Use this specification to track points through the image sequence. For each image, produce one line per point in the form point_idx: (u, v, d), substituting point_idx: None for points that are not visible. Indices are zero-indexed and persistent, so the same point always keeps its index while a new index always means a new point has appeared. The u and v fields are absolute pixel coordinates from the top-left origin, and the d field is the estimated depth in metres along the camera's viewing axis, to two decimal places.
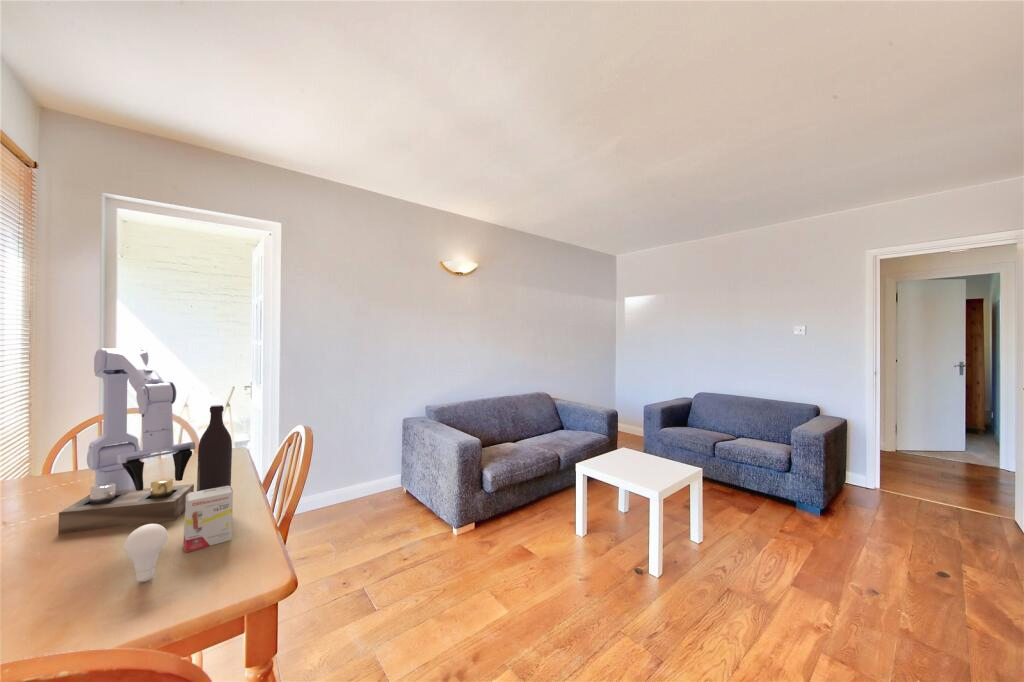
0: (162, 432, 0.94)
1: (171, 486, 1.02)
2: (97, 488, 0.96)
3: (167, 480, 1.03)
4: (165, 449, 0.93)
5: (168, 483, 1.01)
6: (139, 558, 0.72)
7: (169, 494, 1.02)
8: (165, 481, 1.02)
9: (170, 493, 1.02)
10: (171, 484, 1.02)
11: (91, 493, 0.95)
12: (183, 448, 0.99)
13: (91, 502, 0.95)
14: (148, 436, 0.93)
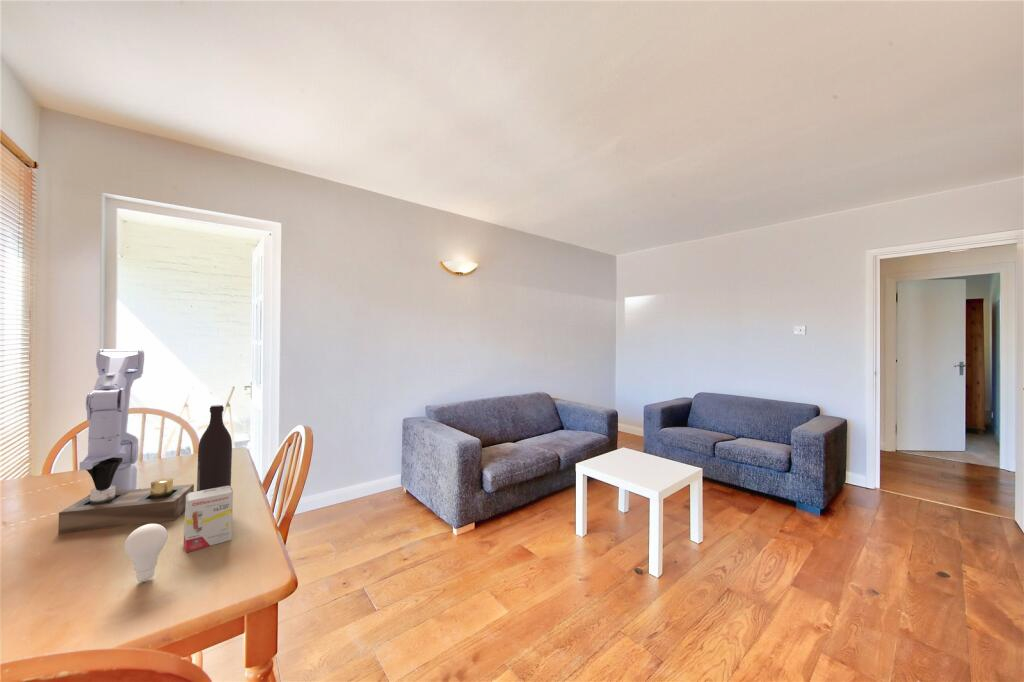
0: (118, 437, 0.98)
1: (171, 486, 1.02)
2: (97, 490, 0.96)
3: (167, 480, 1.03)
4: (124, 453, 0.99)
5: (168, 483, 1.01)
6: (139, 558, 0.72)
7: (169, 494, 1.02)
8: (165, 481, 1.02)
9: (170, 493, 1.02)
10: (171, 484, 1.02)
11: (91, 495, 0.95)
12: None
13: None
14: (106, 442, 0.96)
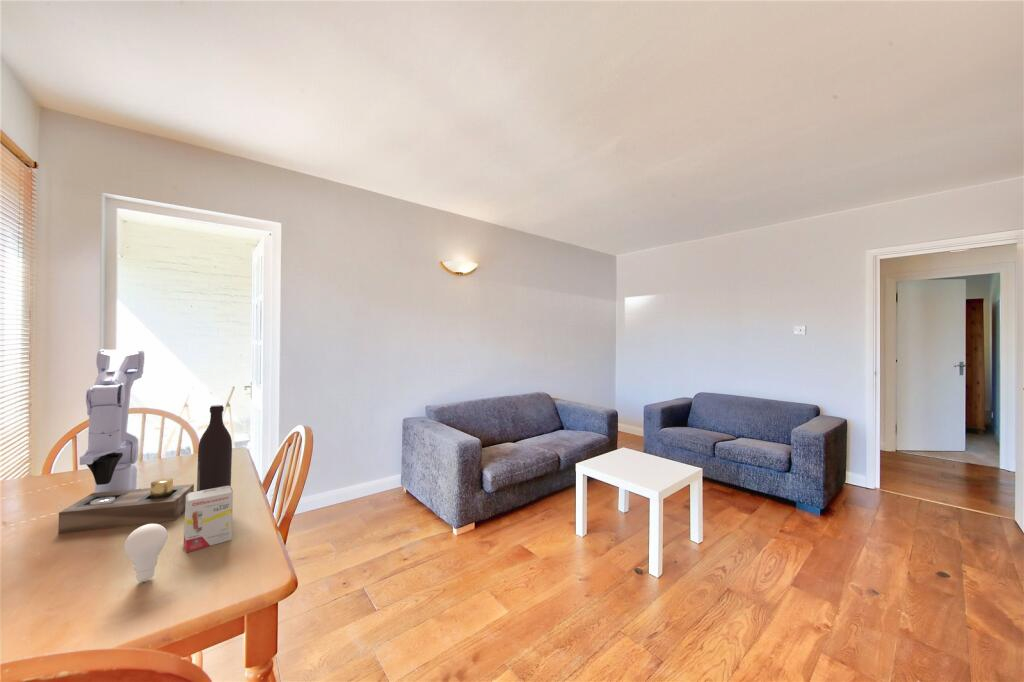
0: (118, 432, 0.98)
1: (171, 486, 1.02)
2: (96, 502, 0.96)
3: (167, 480, 1.03)
4: (124, 448, 0.99)
5: (168, 483, 1.01)
6: (139, 558, 0.72)
7: (169, 494, 1.02)
8: (165, 481, 1.02)
9: (170, 493, 1.02)
10: (171, 484, 1.02)
11: None
12: None
13: None
14: (107, 437, 0.96)
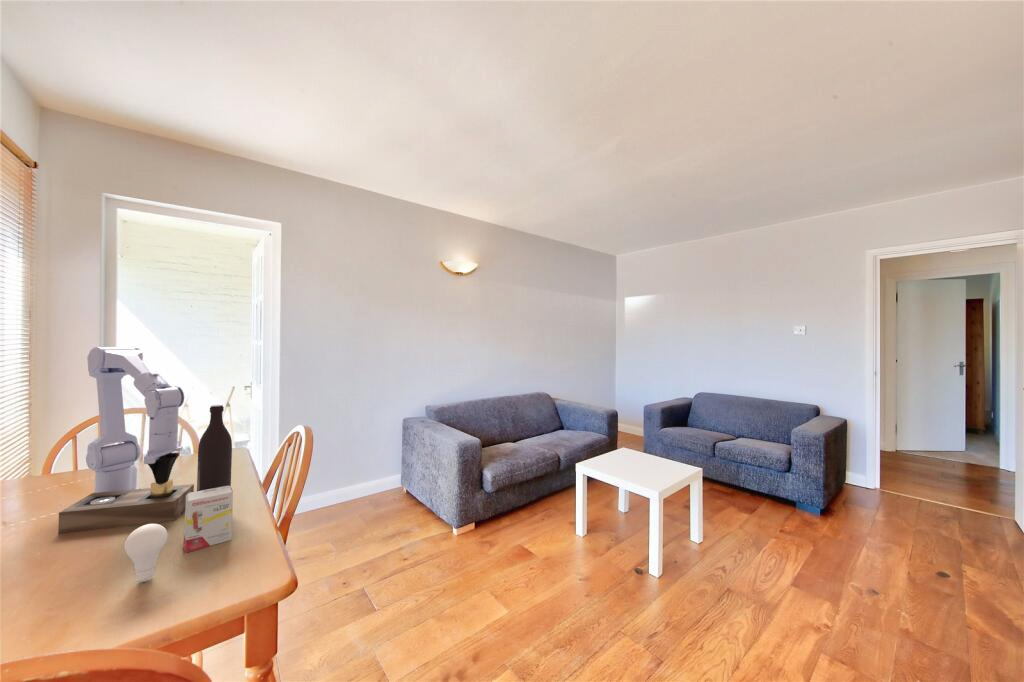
0: (176, 433, 1.03)
1: (171, 487, 1.02)
2: (96, 502, 0.96)
3: (167, 481, 1.03)
4: (181, 448, 1.03)
5: (168, 484, 1.01)
6: (139, 558, 0.72)
7: (169, 495, 1.02)
8: None
9: (170, 494, 1.02)
10: (171, 485, 1.02)
11: None
12: None
13: None
14: (166, 437, 1.00)
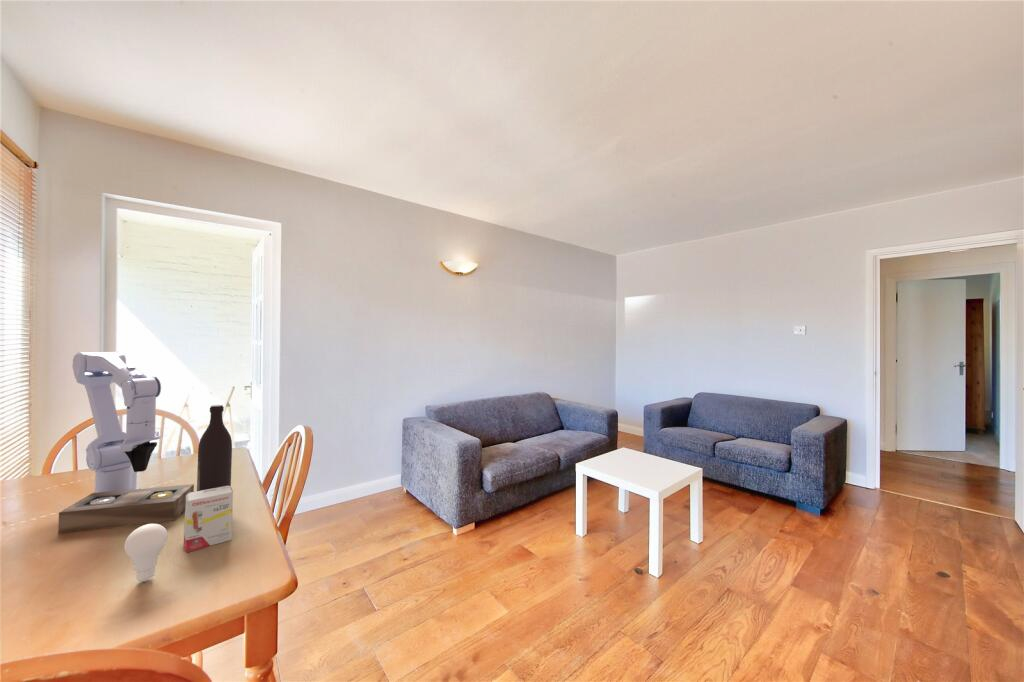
0: (154, 422, 1.05)
1: None
2: (96, 502, 0.96)
3: (167, 493, 1.03)
4: (159, 437, 1.05)
5: (168, 496, 1.01)
6: (140, 558, 0.72)
7: None
8: (164, 495, 1.02)
9: None
10: None
11: None
12: None
13: None
14: (143, 426, 1.02)
